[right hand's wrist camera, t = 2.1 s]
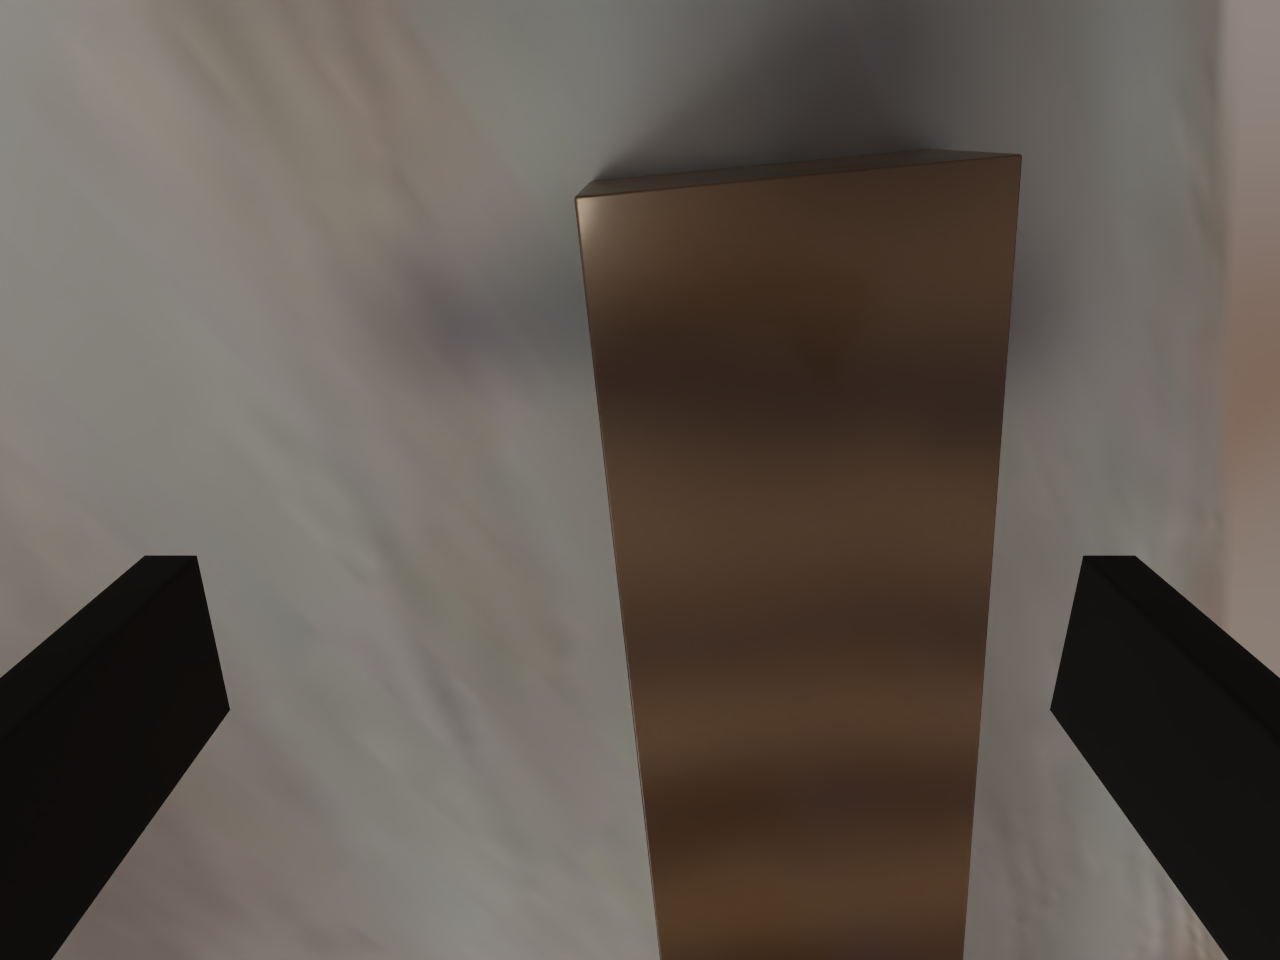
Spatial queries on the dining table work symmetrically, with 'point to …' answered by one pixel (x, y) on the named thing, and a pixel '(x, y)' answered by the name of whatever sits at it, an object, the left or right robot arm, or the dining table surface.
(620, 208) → the thick board
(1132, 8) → the dining table surface
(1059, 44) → the dining table surface
